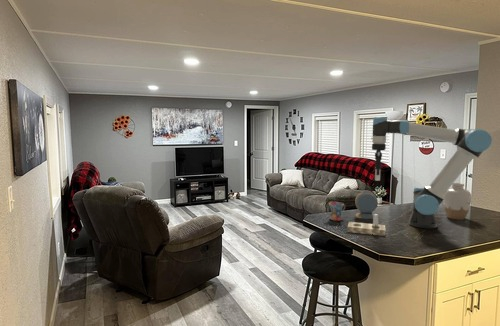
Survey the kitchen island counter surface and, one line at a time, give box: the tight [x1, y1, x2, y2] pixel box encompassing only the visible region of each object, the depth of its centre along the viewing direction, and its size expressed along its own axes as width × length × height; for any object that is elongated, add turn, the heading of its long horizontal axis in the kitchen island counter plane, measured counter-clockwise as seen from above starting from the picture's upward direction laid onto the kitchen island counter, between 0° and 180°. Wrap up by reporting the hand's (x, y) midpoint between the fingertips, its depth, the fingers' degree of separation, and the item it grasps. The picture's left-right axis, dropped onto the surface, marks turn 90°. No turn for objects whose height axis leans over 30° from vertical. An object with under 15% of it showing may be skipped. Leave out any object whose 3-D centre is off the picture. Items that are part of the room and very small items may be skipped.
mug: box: [328, 201, 346, 222], centre depth 217 cm, size 12×9×11 cm
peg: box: [372, 213, 380, 228], centre depth 191 cm, size 3×3×10 cm
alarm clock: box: [354, 189, 379, 220], centre depth 224 cm, size 14×10×18 cm
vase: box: [442, 182, 472, 221], centre depth 222 cm, size 16×16×23 cm
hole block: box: [347, 221, 386, 237], centre depth 193 cm, size 20×11×3 cm, turn 70°
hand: (377, 179), depth 201 cm, fingers open, 13 cm apart
